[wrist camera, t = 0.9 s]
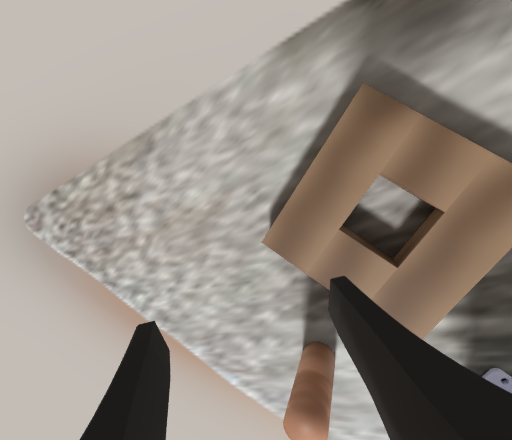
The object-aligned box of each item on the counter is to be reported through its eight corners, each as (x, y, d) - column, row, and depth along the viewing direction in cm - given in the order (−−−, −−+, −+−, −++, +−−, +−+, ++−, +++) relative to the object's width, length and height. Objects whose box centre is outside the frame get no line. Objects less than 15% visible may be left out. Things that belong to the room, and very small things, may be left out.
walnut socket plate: (540, 190, 20) (565, 192, 17) (406, 332, 24) (412, 349, 22) (362, 92, 22) (363, 82, 20) (269, 236, 26) (261, 242, 24)
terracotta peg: (341, 356, 26) (337, 431, 18) (323, 378, 27) (311, 457, 19) (313, 335, 27) (298, 399, 19) (296, 357, 27) (275, 426, 20)
